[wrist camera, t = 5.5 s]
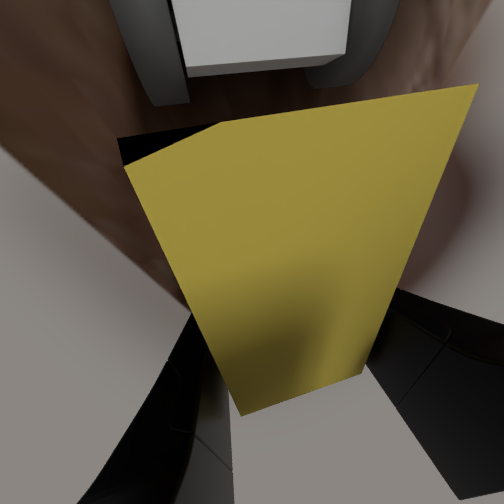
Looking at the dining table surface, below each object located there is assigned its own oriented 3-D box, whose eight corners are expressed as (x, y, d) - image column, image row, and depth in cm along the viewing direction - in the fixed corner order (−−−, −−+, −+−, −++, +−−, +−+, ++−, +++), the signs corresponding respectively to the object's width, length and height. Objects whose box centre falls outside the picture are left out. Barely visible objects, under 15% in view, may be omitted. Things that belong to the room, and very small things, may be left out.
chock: (302, 115, 7) (479, 83, 2) (300, 283, 11) (361, 373, 7) (171, 135, 6) (110, 139, 2) (223, 304, 10) (241, 416, 6)
